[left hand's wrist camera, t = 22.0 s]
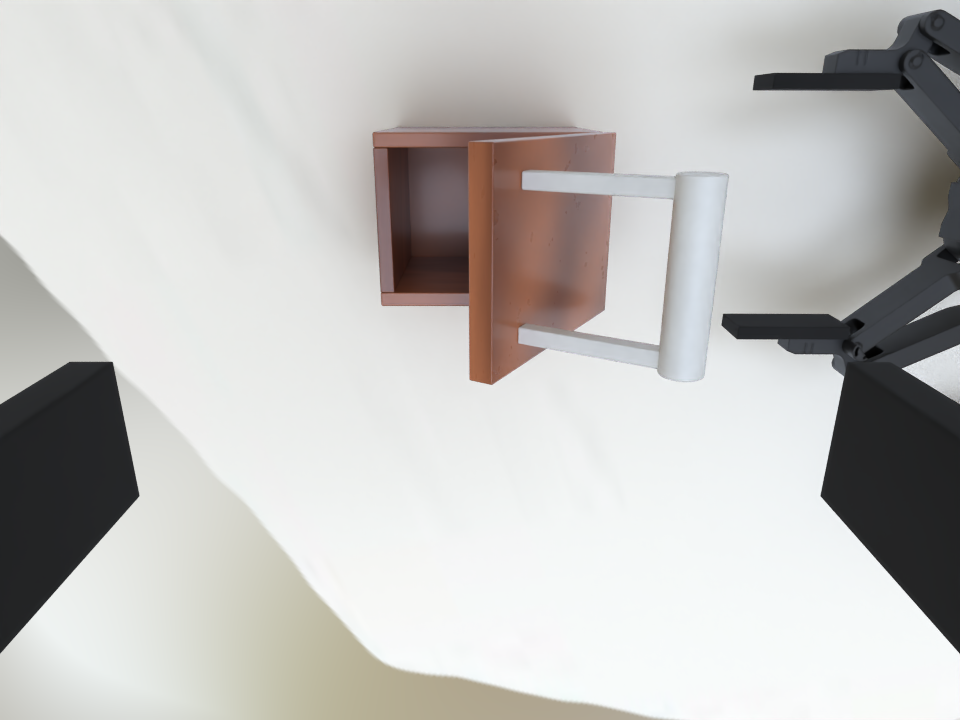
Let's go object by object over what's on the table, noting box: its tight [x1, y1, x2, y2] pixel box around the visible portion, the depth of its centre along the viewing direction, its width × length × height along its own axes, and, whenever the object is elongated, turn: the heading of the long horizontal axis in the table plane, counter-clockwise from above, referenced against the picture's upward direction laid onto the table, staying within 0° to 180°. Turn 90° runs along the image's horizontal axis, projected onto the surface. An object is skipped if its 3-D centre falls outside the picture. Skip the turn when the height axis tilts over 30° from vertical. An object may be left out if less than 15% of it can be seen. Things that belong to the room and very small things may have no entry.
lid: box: [468, 132, 729, 385], centre depth 28 cm, size 12×9×8 cm
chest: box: [373, 127, 600, 306], centre depth 40 cm, size 12×9×10 cm
